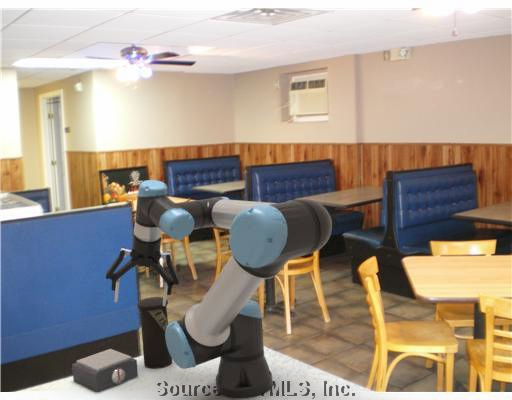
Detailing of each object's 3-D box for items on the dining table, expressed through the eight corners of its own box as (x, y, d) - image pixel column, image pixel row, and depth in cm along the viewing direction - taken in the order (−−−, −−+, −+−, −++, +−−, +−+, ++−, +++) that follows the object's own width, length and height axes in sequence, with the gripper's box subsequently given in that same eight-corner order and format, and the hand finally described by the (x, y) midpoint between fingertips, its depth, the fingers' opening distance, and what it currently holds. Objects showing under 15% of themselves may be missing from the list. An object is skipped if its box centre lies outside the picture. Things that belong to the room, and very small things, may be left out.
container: (167, 369, 163) (161, 302, 161) (138, 369, 164) (132, 303, 162) (176, 358, 171) (171, 294, 169) (149, 357, 173) (143, 295, 171)
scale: (139, 377, 158) (137, 356, 158) (99, 393, 149) (96, 372, 148) (113, 366, 168) (111, 347, 167) (73, 381, 159) (71, 361, 158)
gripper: (193, 234, 157) (183, 297, 165) (102, 224, 153) (97, 290, 161) (193, 246, 151) (183, 312, 158) (98, 237, 146) (93, 305, 154)
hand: (140, 301), depth 160 cm, fingers open, 13 cm apart
